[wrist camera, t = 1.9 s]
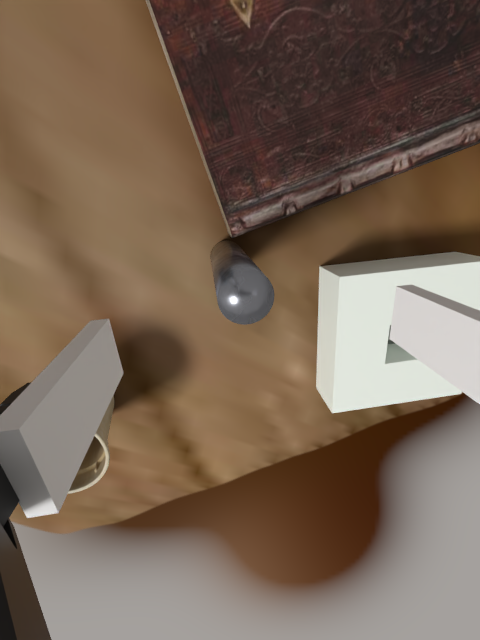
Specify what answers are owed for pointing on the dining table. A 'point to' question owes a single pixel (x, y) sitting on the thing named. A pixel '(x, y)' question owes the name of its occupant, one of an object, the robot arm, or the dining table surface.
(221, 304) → the pin
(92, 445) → the flower pot
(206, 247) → the dining table surface
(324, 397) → the bore block
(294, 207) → the hardback book
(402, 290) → the robot arm
